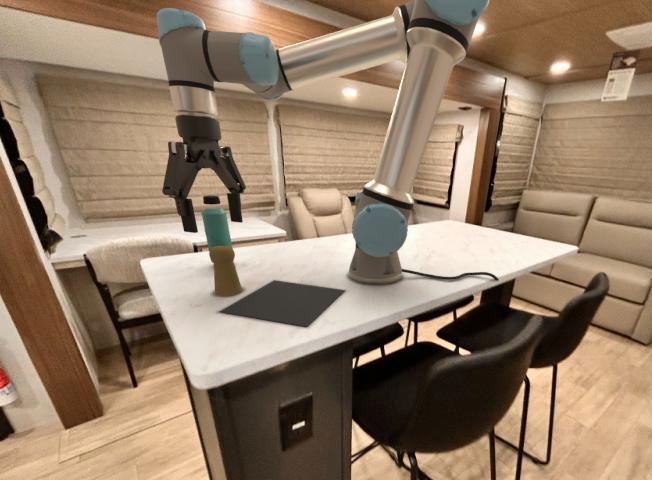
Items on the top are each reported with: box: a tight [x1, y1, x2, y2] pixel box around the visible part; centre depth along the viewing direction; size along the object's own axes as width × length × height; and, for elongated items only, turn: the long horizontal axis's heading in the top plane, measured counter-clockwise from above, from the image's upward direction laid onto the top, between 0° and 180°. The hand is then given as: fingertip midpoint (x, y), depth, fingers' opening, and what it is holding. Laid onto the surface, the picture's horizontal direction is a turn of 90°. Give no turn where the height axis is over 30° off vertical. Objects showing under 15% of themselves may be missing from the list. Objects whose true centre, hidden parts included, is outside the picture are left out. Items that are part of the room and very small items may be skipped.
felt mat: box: [219, 279, 345, 328], centre depth 71 cm, size 20×20×1 cm
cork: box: [208, 246, 243, 297], centre depth 72 cm, size 6×6×11 cm
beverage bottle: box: [200, 194, 235, 264], centre depth 88 cm, size 6×7×20 cm
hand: (216, 226), depth 69 cm, fingers open, 13 cm apart
